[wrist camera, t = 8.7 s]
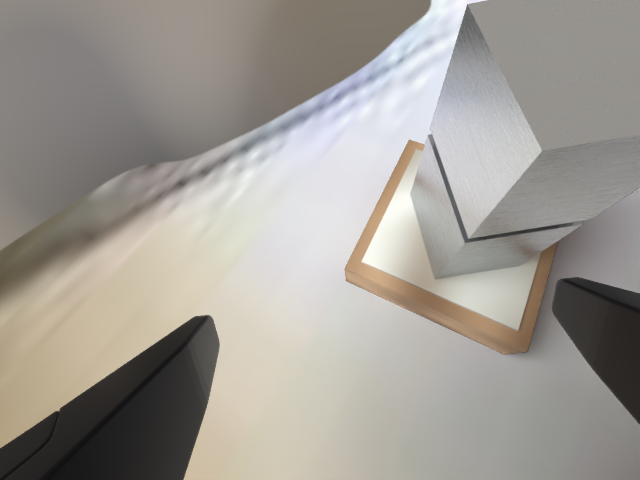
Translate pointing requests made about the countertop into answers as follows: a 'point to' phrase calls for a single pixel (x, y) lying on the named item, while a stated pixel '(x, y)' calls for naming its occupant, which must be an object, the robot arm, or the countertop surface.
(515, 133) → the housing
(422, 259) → the stand
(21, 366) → the countertop surface
